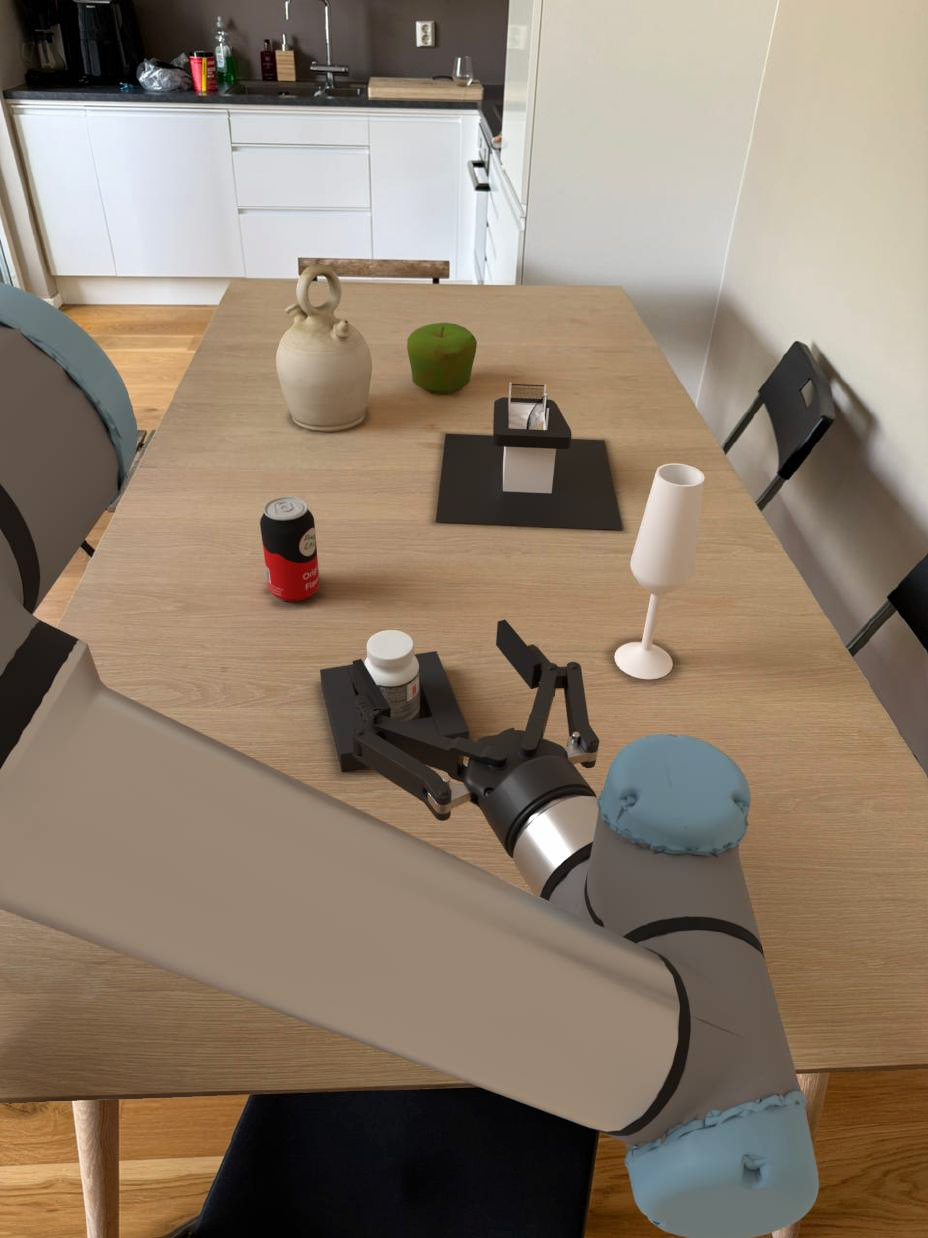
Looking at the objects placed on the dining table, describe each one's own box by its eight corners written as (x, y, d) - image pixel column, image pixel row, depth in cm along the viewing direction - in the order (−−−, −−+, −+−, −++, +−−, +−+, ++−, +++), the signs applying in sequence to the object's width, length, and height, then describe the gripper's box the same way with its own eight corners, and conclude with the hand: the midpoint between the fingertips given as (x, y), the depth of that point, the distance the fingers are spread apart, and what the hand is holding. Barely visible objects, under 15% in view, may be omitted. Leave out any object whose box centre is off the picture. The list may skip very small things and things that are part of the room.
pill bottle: (428, 707, 95) (429, 635, 89) (404, 742, 91) (403, 669, 85) (381, 692, 97) (379, 620, 91) (355, 725, 93) (351, 652, 87)
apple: (419, 370, 168) (419, 310, 161) (482, 378, 166) (484, 318, 159) (398, 396, 159) (397, 333, 152) (464, 405, 156) (466, 342, 149)
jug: (270, 407, 154) (253, 256, 138) (354, 392, 159) (347, 246, 144) (298, 444, 143) (284, 285, 128) (387, 427, 149) (383, 273, 133)
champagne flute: (610, 672, 101) (642, 485, 86) (618, 637, 106) (649, 454, 91) (670, 684, 99) (713, 496, 85) (675, 648, 104) (716, 464, 90)
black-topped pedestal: (622, 530, 125) (636, 443, 117) (435, 522, 125) (436, 435, 117) (604, 440, 147) (614, 362, 139) (445, 434, 147) (447, 355, 139)
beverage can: (275, 610, 108) (264, 525, 101) (264, 581, 113) (253, 499, 105) (325, 599, 110) (318, 516, 103) (313, 572, 114) (305, 490, 107)
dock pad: (341, 772, 87) (340, 754, 86) (321, 686, 97) (319, 669, 96) (468, 748, 91) (469, 731, 89) (436, 667, 100) (436, 650, 99)
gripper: (391, 926, 60) (295, 723, 75) (689, 808, 69) (550, 648, 84) (389, 856, 55) (288, 655, 70) (709, 740, 64) (559, 583, 79)
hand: (431, 651), depth 77 cm, fingers open, 13 cm apart
